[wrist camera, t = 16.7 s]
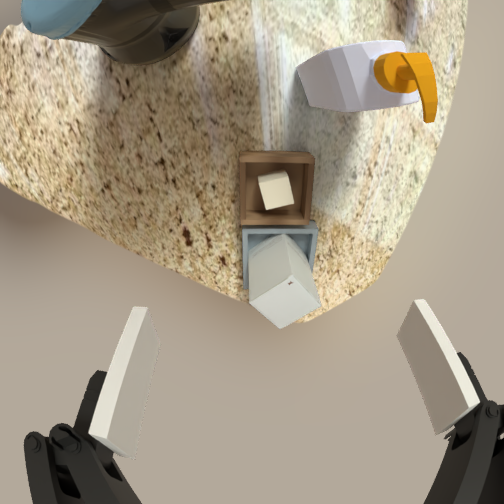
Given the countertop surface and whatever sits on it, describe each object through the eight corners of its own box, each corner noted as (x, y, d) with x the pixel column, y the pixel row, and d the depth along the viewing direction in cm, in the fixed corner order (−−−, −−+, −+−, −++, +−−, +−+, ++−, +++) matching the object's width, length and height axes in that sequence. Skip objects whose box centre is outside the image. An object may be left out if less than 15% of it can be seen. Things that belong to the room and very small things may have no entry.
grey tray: (243, 278, 50) (243, 289, 47) (242, 220, 43) (242, 229, 41) (306, 277, 50) (309, 287, 47) (314, 220, 43) (318, 228, 41)
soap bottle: (310, 111, 34) (384, 133, 15) (294, 67, 31) (355, 32, 11) (365, 98, 33) (474, 118, 13) (352, 55, 29) (455, 33, 10)
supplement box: (246, 250, 46) (246, 302, 35) (282, 225, 43) (294, 273, 33) (272, 277, 49) (279, 331, 38) (307, 255, 46) (323, 306, 36)
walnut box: (241, 213, 43) (240, 224, 39) (240, 150, 37) (239, 156, 34) (304, 213, 43) (309, 224, 39) (308, 152, 37) (315, 158, 34)
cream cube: (264, 199, 41) (266, 210, 37) (257, 175, 39) (258, 183, 35) (290, 193, 40) (294, 203, 37) (284, 168, 38) (288, 176, 35)
